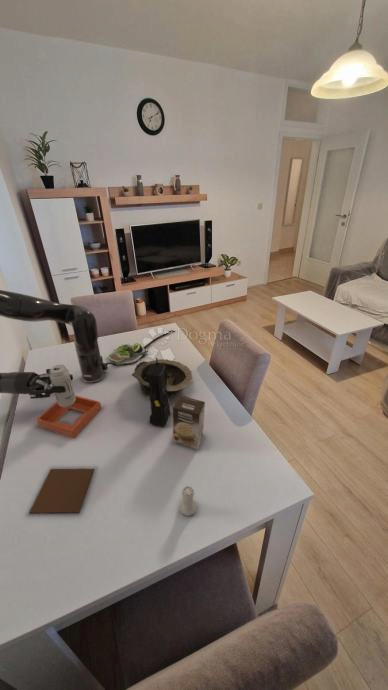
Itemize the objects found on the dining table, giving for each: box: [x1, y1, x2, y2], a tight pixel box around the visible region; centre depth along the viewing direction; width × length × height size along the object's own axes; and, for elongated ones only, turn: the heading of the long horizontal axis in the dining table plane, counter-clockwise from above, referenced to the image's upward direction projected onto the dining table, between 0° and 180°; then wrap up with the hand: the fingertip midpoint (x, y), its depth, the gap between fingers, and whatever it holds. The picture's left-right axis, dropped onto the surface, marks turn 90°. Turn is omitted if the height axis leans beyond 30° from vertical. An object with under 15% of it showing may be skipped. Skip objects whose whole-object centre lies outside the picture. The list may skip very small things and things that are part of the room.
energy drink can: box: [49, 364, 76, 408], centre depth 96 cm, size 6×6×15 cm
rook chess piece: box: [179, 485, 197, 517], centre depth 73 cm, size 4×4×8 cm
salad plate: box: [107, 342, 149, 366], centre depth 139 cm, size 19×18×5 cm
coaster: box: [28, 468, 95, 514], centre depth 78 cm, size 13×13×1 cm
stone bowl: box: [131, 358, 194, 399], centre depth 118 cm, size 25×25×9 cm
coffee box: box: [172, 394, 206, 451], centre depth 91 cm, size 9×6×16 cm
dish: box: [35, 394, 102, 439], centre depth 102 cm, size 16×16×3 cm
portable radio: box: [146, 357, 171, 427], centre depth 96 cm, size 8×6×25 cm
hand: (68, 383), depth 96 cm, fingers closed on energy drink can, 6 cm apart
